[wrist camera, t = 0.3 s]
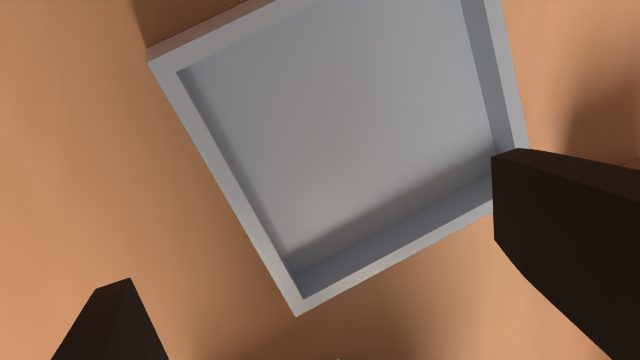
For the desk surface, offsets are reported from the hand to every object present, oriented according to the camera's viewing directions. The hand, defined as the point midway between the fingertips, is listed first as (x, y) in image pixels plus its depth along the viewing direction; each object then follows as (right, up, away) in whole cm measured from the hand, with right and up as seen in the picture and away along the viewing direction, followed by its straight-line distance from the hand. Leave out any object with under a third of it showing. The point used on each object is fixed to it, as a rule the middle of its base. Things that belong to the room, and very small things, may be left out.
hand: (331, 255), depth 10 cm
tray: (+1, +4, +10) cm, 11 cm away
